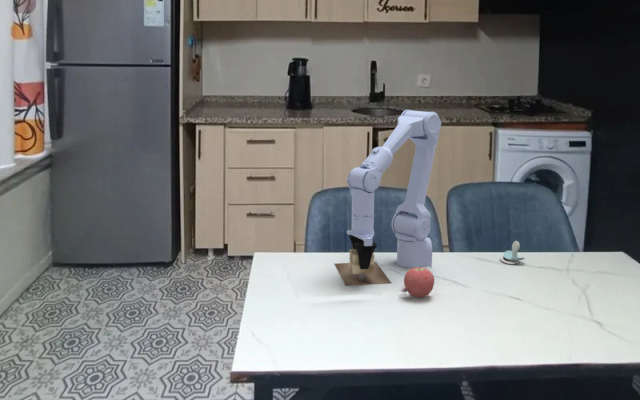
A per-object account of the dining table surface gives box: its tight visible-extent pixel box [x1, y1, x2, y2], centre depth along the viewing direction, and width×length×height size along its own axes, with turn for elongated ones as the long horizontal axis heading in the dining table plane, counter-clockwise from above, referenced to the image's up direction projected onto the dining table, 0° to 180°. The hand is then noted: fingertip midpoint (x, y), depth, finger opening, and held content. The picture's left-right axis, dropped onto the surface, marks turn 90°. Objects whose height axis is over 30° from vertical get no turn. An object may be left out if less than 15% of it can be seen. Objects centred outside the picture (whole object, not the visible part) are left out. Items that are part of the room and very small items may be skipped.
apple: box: [403, 267, 435, 299], centre depth 168 cm, size 7×7×8 cm
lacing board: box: [333, 261, 392, 287], centre depth 181 cm, size 12×18×6 cm, turn 8°
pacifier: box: [499, 240, 525, 265], centre depth 195 cm, size 7×6×6 cm
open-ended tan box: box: [349, 248, 375, 274], centre depth 175 cm, size 5×5×5 cm
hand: (361, 265), depth 175 cm, fingers closed on open-ended tan box, 5 cm apart
